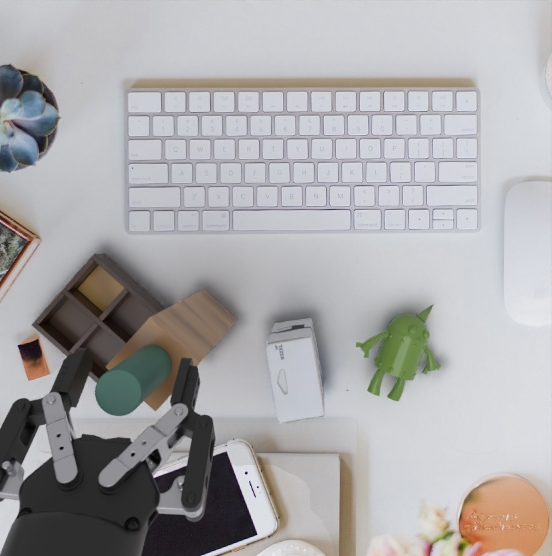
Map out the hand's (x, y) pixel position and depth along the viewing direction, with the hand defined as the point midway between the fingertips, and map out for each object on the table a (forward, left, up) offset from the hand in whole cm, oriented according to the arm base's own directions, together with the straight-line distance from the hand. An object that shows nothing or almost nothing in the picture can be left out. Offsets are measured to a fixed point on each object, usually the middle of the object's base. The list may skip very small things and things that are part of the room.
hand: (136, 358), depth 42 cm
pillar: (-1, -1, -26) cm, 27 cm away
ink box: (+3, -12, -27) cm, 29 cm away
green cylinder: (-1, -1, -4) cm, 5 cm away
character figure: (+12, -20, -27) cm, 35 cm away
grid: (-9, +8, -26) cm, 29 cm away
